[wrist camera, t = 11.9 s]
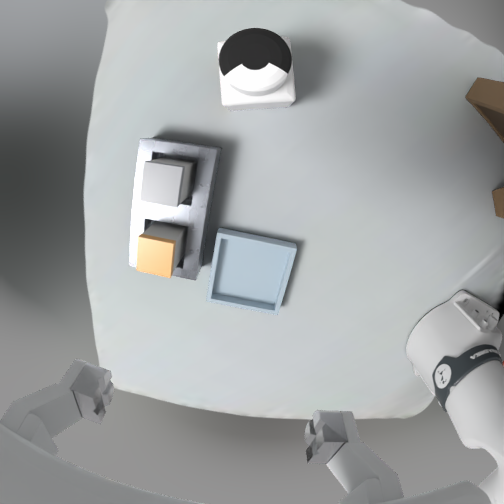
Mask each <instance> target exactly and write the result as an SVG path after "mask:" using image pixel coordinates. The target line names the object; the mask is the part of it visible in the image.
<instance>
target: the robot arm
mask: <svg viewBox="0 0 504 504" xmlns="http://www.w3.org/2000/svg"><path fill="white" fill-rule="evenodd" d="M498 320H499V312H498V311H497V310H496V309H495V308H493V307H491V306H490V305H488V304H486V303H485V302H483V301H481V300H480V299H478V298H476V297H474V296H473V295H471V294H469V293H468V292H466V291H464V290H461V291H459V292H458V293H456V294H455V295H454V296H453V297H452V298H451V299H450V300H449V301H447V302H446V303H444V304H442V305H440V306H438V307H436V308H434V309H433V310H431V311H430V312H429V313H427V314H426V315H425V316H424V317H423V318H422V319H421V320H420V321H419V322H418V324H417V325H416V326H415V328H414V329H413V331H412V332H411V334H410V336H409V339H408V342H407V346H406V353H407V357H408V359H409V360H410V361H411V362H412V364H413V371H414V373H415V375H416V376H421V378H422V379H423V381H424V382H425V384H426V385H427V386H428V388H429V389H430V391H431V392H432V394H433V395H435V396H436V397H437V399H438V402H439V404H440V406H442V408H443V409H444V411H445V412H448V414H449V416H450V418H451V420H452V422H453V424H454V426H455V429H456V431H457V432H458V435H459V437H460V439H461V441H462V443H463V444H464V445H465V446H466V447H468V448H472V449H477V448H484V449H485V450H487V451H488V452H489V453H490V454H491V455H492V456H493V457H494V459H495V460H496V462H497V464H498V467H497V468H496V469H495V470H494V471H493V472H492V473H491V474H490V475H489V476H488V477H486V478H485V479H484V480H483V481H482V482H481V483H480V484H479V485H478V486H476V485H475V484H473V483H472V482H470V481H467V480H465V481H460V482H458V483H455V484H452V485H449V486H446V487H443V488H439V489H436V490H433V491H429V492H426V493H422V494H418V495H415V496H410V497H406V498H404V496H403V492H402V488H401V485H400V481H399V477H398V474H397V473H396V472H395V471H393V469H391V468H390V467H389V466H388V465H387V464H386V463H385V462H384V461H383V460H381V458H380V457H379V456H377V455H376V454H375V453H374V452H373V451H372V450H371V449H370V448H369V447H368V446H367V445H366V444H365V443H364V442H360V438H359V434H358V431H357V427H356V423H355V419H354V416H353V413H352V412H351V411H326V410H316V411H315V412H314V414H313V419H312V420H310V421H309V422H308V424H307V426H306V429H305V442H306V443H307V444H308V445H309V447H308V448H307V450H306V455H307V463H315V464H327V466H328V468H329V469H330V470H331V472H332V473H333V474H334V475H335V477H336V478H337V479H338V481H339V482H340V483H341V485H342V486H343V487H344V489H345V490H346V491H347V492H348V495H347V496H345V497H344V498H343V499H342V500H340V501H339V502H338V504H504V367H503V365H504V361H503V362H502V359H501V357H500V356H501V355H500V353H499V352H498V350H499V347H500V345H501V342H502V333H501V331H500V330H499V329H498V327H497V323H498ZM111 377H112V375H111V371H109V370H106V369H104V368H101V367H98V366H96V365H93V364H91V363H88V362H85V361H83V360H80V359H76V360H75V361H74V362H73V363H72V365H71V366H70V368H69V369H68V371H67V372H66V374H65V375H64V377H63V378H62V380H61V381H60V383H59V384H53V385H51V386H49V387H46V388H44V389H42V390H39V391H37V392H35V393H32V394H30V395H27V396H25V397H23V398H20V399H18V400H16V401H13V403H12V404H11V405H10V407H9V408H8V410H7V411H6V413H5V414H4V416H3V417H2V419H1V420H0V504H206V503H200V502H194V501H189V500H184V499H179V498H175V497H170V496H165V495H162V494H158V493H154V492H150V491H147V490H143V489H140V488H137V487H133V486H130V485H127V484H124V483H121V482H118V481H115V480H112V479H109V478H106V477H104V476H101V475H99V474H96V473H93V472H91V471H89V470H86V469H84V468H82V467H79V466H77V465H75V464H73V463H70V462H68V461H66V460H64V459H62V458H60V457H58V456H56V454H57V452H58V448H57V446H56V445H55V443H54V441H53V440H52V438H53V437H54V436H56V435H58V434H59V433H61V432H62V431H64V430H65V429H67V428H68V427H70V426H71V425H73V424H75V423H76V422H78V421H79V420H81V419H82V418H85V419H88V420H90V421H93V422H95V423H98V424H101V421H102V419H103V417H104V415H105V413H106V411H105V406H107V405H109V404H110V402H111V400H112V397H113V391H114V386H113V383H112V382H111V381H110V379H111Z"/></svg>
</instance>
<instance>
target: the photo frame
mask: <svg viewBox="0 0 504 504" xmlns="http://www.w3.org/2000/svg"><path fill="white" fill-rule="evenodd" d="M465 98H466V99H467V100H468V101H469V102H470V103H471V104H472V105H473V106H474V108H475V109H476V110H477V111H478V112H479V113H480V114H481V115H482V117H483V118H484V119H485V120H486V121H487V122H488V124H489V125H490V126H491V127H492V129H493V130H494V131H495V132H496V133H497V135H498V136H499V137H500V139H501V140H502V141H503V143H504V82H499V81H494V80H489V79H484V78H477V79H476V81H475V83H474V84H473V86H472V87H471V89H470V91H469V92H468V94H467V95H466V97H465ZM492 194H493V200H494V205H495V211H496V216H498V217H501V218H504V187H502V188H499V189H496V190H494V191H492Z"/></svg>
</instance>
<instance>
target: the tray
mask: <svg viewBox="0 0 504 504" xmlns="http://www.w3.org/2000/svg"><path fill="white" fill-rule="evenodd" d="M296 251H297V247H296V243H292V242H287V241H283V240H278V239H273V238H268V237H263V236H258V235H253V234H249V233H244V232H239V231H234V230H229V229H224V228H219V229H218V232H217V236H216V242H215V248H214V254H213V260H212V266H211V272H210V279H209V285H208V291H207V298H206V301H207V302H212V303H217V304H222V305H227V306H232V307H237V308H242V309H247V310H253V311H258V312H264V313H269V314H275V315H278V313H279V310H280V306H281V303H282V300H283V296H284V293H285V289H286V286H287V283H288V279H289V276H290V272H291V269H292V265H293V262H294V258H295V255H296Z"/></svg>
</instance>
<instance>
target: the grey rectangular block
mask: <svg viewBox="0 0 504 504" xmlns="http://www.w3.org/2000/svg"><path fill="white" fill-rule="evenodd" d="M196 165H197V161H192V160H186V159H180V158H173V157H166V156H165V157H162V158H158V159H154V160H151V161H145V162H144V167H143V175H142V183H141V193H140V201H143V202H149V203H154V204H160V205H165V206H171V207H176V208H177V207H178V206H179V205H180V203H181V202H183V201H184V200H185V199H186V198H187V197H188V196H189V195H190V194H192V189H193V183H194V177H195V171H196Z"/></svg>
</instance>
